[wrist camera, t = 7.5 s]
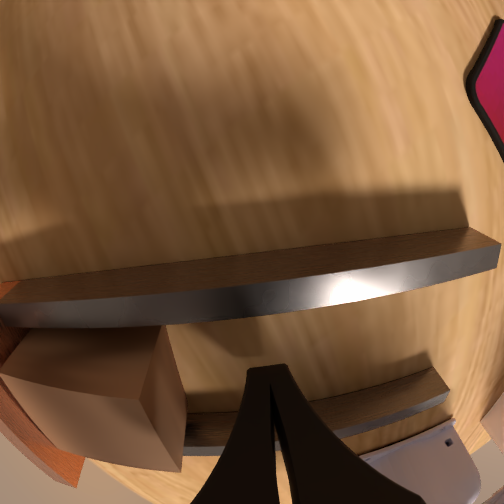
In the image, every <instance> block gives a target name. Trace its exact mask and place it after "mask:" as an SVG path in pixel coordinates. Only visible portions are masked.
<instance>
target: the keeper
mask: <svg viewBox="0 0 504 504" xmlns="http://www.w3.org/2000/svg"><path fill="white" fill-rule="evenodd" d="M0 376H1V378H2V379H3V381H4V383H5V384H6V385H7V387H8V388H9V390H10V391H11V393H12V394H13V396H14V397H15V398H16V400H17V401H18V402H19V404H20V405H21V406H22V408H23V409H24V410H25V412H26V413H27V414H28V415H29V417H30V418H31V419H32V420H33V421H34V423H35V424H36V425H37V426H38V427H39V429H40V430H41V431H42V432H43V433H44V434H45V435H46V437H47V438H48V439H49V440H50V441H51V442H52V443H53V444H54V445H55V446H56V447H57V448H58V449H60V450H63V451H66V452H69V453H72V454H76V455H79V456H83V457H87V458H91V459H95V460H99V461H103V462H108V463H113V464H118V465H123V466H129V467H135V468H142V469H149V470H157V471H167V472H179V473H181V468H182V457H183V447H184V437H185V428H186V419H187V410H188V401H187V398H186V395H185V392H184V388H183V385H182V382H181V379H180V376H179V372H178V369H177V366H176V362H175V359H174V355H173V352H172V348H171V344H170V341H169V337H168V333H167V329H166V325H157V326H138V327H114V328H32V329H31V330H30V331H29V332H28V333H27V335H26V336H25V337H24V338H23V340H22V341H21V342H20V343H19V345H18V346H17V347H16V349H15V350H14V351H13V352H12V354H11V355H10V356H9V358H8V359H7V360H6V362H5V363H4V364H3V366H2V367H1V369H0Z"/></svg>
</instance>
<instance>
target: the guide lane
mask: <svg viewBox="0 0 504 504" xmlns="http://www.w3.org/2000/svg"><path fill="white" fill-rule="evenodd" d="M500 249H501V243H499V242H497V241H495V240H494V239H492V238H490V237H488V236H486V235H484V234H482V233H480V232H478V231H477V230H475V229H473V228H471V227H468V228H460V229H451V230H443V231H435V232H427V233H419V234H410V235H402V236H394V237H385V238H377V239H369V240H361V241H352V242H344V243H336V244H327V245H319V246H311V247H302V248H294V249H285V250H277V251H269V252H260V253H252V254H243V255H235V256H226V257H218V258H210V259H201V260H193V261H184V262H176V263H167V264H159V265H150V266H142V267H133V268H124V269H116V270H107V271H99V272H90V273H82V274H73V275H64V276H56V277H47V278H38V279H30V280H21V281H12V282H4V283H2V284H0V369H1V367H2V366H3V364H4V363H5V362H6V360H7V359H8V358H9V356H10V355H11V354H12V352H13V351H14V350H15V349H16V347H17V346H18V345H19V343H20V342H21V341H22V340H23V338H24V337H25V336H26V335H27V333H28V332H29V331H30V330H31V329H32V328H114V327H138V326H157V325H172V324H185V323H197V322H209V321H219V320H229V319H238V318H247V317H255V316H263V315H271V314H279V313H286V312H293V311H300V310H306V309H313V308H319V307H325V306H331V305H337V304H343V303H349V302H354V301H360V300H365V299H370V298H375V297H380V296H385V295H390V294H395V293H400V292H404V291H409V290H413V289H418V288H422V287H426V286H431V285H435V284H439V283H443V282H447V281H451V280H455V279H459V278H462V277H466V276H470V275H473V274H477V273H481V272H484V271H488V270H491V269H494V268H496V267H497V263H498V258H499V254H500ZM449 392H450V389H449V388H448V386H447V385H446V383H445V382H444V381H443V379H442V378H441V376H440V375H439V374H438V372H437V371H436V370H435V368H434V367H431V368H429V369H426V370H424V371H421V372H418V373H415V374H412V375H410V376H407V377H404V378H401V379H398V380H395V381H391V382H388V383H385V384H382V385H378V386H375V387H371V388H368V389H364V390H360V391H356V392H352V393H348V394H344V395H340V396H336V397H331V398H326V399H322V400H317V401H311V402H309V403H310V405H311V406H312V407H313V409H314V410H315V411H316V413H317V414H318V415H319V417H320V418H321V419H322V420H323V421H324V422H325V424H326V425H327V426H328V427H329V428H330V429H331V430H332V432H333V433H334V434H335V435H336V436H337V437H338V438H339V439H341V438H345V437H348V436H352V435H356V434H359V433H363V432H366V431H369V430H373V429H376V428H379V427H382V426H385V425H388V424H391V423H394V422H396V421H399V420H402V419H405V418H407V417H410V416H412V415H415V414H417V413H420V412H422V411H424V410H427V409H429V408H431V407H434V406H436V405H438V404H440V403H442V402H444V401H445V399H446V397H447V395H448V393H449ZM238 412H239V411H238ZM238 412H225V413H206V414H187V419H186V428H185V437H184V447H183V456H221V454H222V452H223V450H224V448H225V446H226V444H227V441H228V439H229V437H230V434H231V432H232V429H233V426H234V424H235V421H236V418H237V415H238ZM274 428H275V425H274ZM0 432H1V433H2V434H3V435H4V436H5V437H6V438H7V439H8V440H9V441H10V442H11V443H12V444H13V445H14V446H15V447H16V448H17V449H18V450H19V451H20V452H21V453H22V454H24V455H25V456H26V457H27V458H28V459H29V460H30V461H31V462H32V463H34V464H35V465H36V466H37V467H38V468H40V469H41V470H42V471H43V472H45V473H46V474H47V475H48V476H49V477H51V478H52V479H53V480H55V481H57V482H60V483H63V484H65V485H68V486H71V487H74V488H76V487H77V484H78V480H79V477H80V473H81V470H82V466H83V463H84V460H85V457H83V456H79V455H76V454H72V453H69V452H66V451H63V450H60V449H58V448H57V447H56V446H55V445H54V444H53V443H52V442H51V441H50V440H49V439H48V438H47V437H46V435H45V434H44V433H43V432H42V431H41V430H40V429H39V427H38V426H37V425H36V424H35V423H34V421H33V420H32V419H31V418H30V417H29V415H28V414H27V413H26V412H25V410H24V409H23V408H22V406H21V405H20V404H19V402H18V401H17V400H16V398H15V397H14V396H13V394H12V393H11V391H10V390H9V388H8V387H7V385H6V384H5V383H4V381H3V379H2V378H1V376H0ZM278 450H281V448H280V444H279V440H278V436H277V432H276V429H275V451H278Z"/></svg>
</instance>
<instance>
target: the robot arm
mask: <svg viewBox="0 0 504 504" xmlns="http://www.w3.org/2000/svg"><path fill="white" fill-rule="evenodd" d="M455 422H456V420H455V418H452V419H450V420H448V421H446V422H444V423H442V424H440V425H438V426H436V427H434V428H432V429H429V430H427V431H425V432H423V433H421V434H418V435H416V436H414V437H411V438H409V439H406V440H404V441H401V442H399V443H396V444H393V445H391V446H388V447H385V448H382V449H379V450H376V451H373V452H370V453H367V454H364V455H360V456H357V455H356V454H355V453H354V452H353V451H352V450H351V449H350V448H348V447H347V446H346V445H345V444H344V443H343V442H342V441H341V440H340V439H339V438H338V437H337V436H336V435H335V434H334V433H333V432H332V430H331V429H330V428H329V427H328V426H327V425H326V424H325V422H324V421H323V420H322V419H321V418H320V417H319V415H318V414H317V413H316V411H315V410H314V409H313V407H312V406H311V405H310V403H309V402H308V400H307V399H306V398H305V396H304V395H303V393H302V392H301V390H300V388H299V387H298V385H297V384H296V382H295V380H294V378H293V376H292V374H291V372H290V370H289V368H288V365H286V364H277V365H270V366H263V367H255V368H249V369H248V370H247V377H246V384H245V390H244V394H243V398H242V402H241V405H240V409H239V412H238V415H237V418H236V421H235V424H234V426H233V429H232V432H231V434H230V437H229V439H228V441H227V444H226V446H225V448H224V450H223V452H222V454H221V456H220V458H219V460H218V462H217V464H216V466H215V467H214V469H213V471H212V473H211V474H210V476H209V478H208V479H207V481H206V482H205V484H204V485H203V487H202V488H201V490H200V491H199V493H198V494H197V495H196V497H195V498H194V499H193V501H192V502H191V503H190V504H280V501H279V494H278V487H277V478H276V454H275V429H276V432H277V436H278V440H279V444H280V448H281V452H282V455H283V459H284V463H285V467H286V470H287V475H288V479H289V485H290V491H291V497H292V504H472V503H473V502H474V501H475V500H476V499H477V497H478V495H479V493H480V489H481V480H480V475H479V472H478V469H477V467H476V466H475V464H474V462H473V460H472V458H471V457H470V455H469V453H468V451H467V449H466V448H465V446H464V444H463V442H462V441H461V439H460V437H459V435H458V434H457V432H456V430H455V429H454V427H453V425H454V424H455ZM274 425H275V428H274ZM482 504H504V486H503V487H501V488H500V489H499V490H498V491H496V492H495V493H494V494H493V495H492V497H490V498H489V499H488V500H486V501H485V502H484V503H482Z"/></svg>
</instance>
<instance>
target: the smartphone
mask: <svg viewBox="0 0 504 504" xmlns="http://www.w3.org/2000/svg"><path fill="white" fill-rule="evenodd" d="M466 92H467V96H468V99H469V101H470V103H471V105H472V107H473V108H474V110H475V112H476V113H477V115H478V116H479V118H480V120H481V121H482V123H483V125H484V126H485V128H486V130H487V132H488V133H489V135H490V137H491V139H492V141H493V142H494V144H495V146H496V148H497V150H498V152H499V154H500V156H501V158H502V160H503V162H504V20H503V19H499V20H496V21H495V24H494V27H493V30H492V32H491V34H490V36H489V38H488V40H487V42H486V44H485V46H484V48H483V50H482V52H481V54H480V56H479V58H478V60H477V62H476V63H475V65H474V67H473V69H472V70H471V71H470V73H469V75H468V76H467V79H466Z"/></svg>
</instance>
